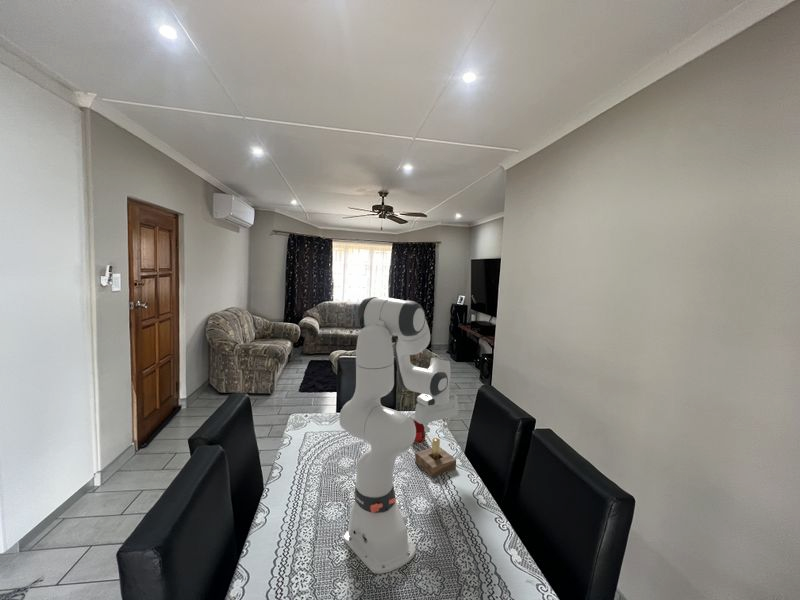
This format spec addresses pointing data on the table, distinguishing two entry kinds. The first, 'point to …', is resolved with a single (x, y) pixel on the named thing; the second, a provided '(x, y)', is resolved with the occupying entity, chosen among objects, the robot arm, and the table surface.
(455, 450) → the table surface
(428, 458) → the socket block
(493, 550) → the table surface
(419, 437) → the canned food
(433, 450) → the pin
